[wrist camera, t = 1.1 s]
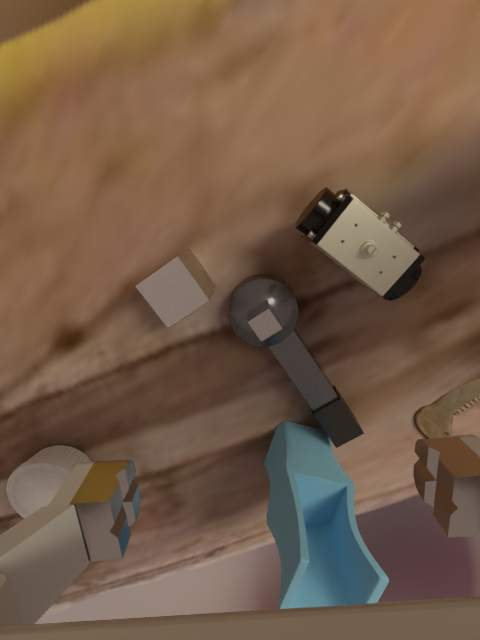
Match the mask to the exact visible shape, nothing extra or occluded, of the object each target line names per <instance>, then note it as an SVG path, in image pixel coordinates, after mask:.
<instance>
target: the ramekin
mask: <svg viewBox="0 0 480 640" xmlns="http://www.w3.org/2000/svg"><path fill="white" fill-rule="evenodd" d="M80 462H92V461H91V460H90V458H89V457H88V456H87V455H86V454H85V453H83V452H82V451H80V450H78V449H76V448H74V447H70V446H65V445H56V446H50V447H47V448H44V449H42V450H40V451H39V452H38V453H36V454H35V455H34V456H33V457H31V458H30V459H29V460H28V461H26V462H24V463H22V464H21V465H20V466H18V467H17V468H16V469H15V470H14V471H13V472H12V474H11V475H10V477H9V479H8V481H7V486H6V492H7V497H8V500H9V502H10V504H11V506H12V507H13V508H14V509H15V511H16V512H17V513H18V514H19V515H20V516H21V517H23V518H24V519H25V518H26V517H28V516H29V515H31V514H32V513H34V512H35V511H37V510H38V509H40V508H41V507H45V506H48V505H49V504H50V502H51V501H52V499H53V498H54V497H55V495H56V494H57V492H58V491H59V489H60V488H61V486H62V485H63V483H64V482H65V480H66V479H67V477H68V476H69V474H70V473H71V471H72V470H73V468H74V467H75V466H76V464H78V463H80Z"/></svg>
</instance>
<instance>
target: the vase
mask: <svg viewBox="0 0 480 640" xmlns="http://www.w3.org/2000/svg"><path fill="white" fill-rule="evenodd" d="M264 466H265V468H266V471H267V473H268V477H269V482H270V498H269V505H268V511H267V525H268V527H269V529H270V530H271V532H272V534H273V537H274V539H275V541H276V544H277V547H278V550H279V555H280V559H281V572H282V573H281V589H280V599H279V607H278V609H288V608H304V607H320V606H336V605H352V604H368V603H377V602H378V599H379V598H380V596H381V595H382V593H383V591H384V589H385V587H386V586H387V584H388V582H389V579H388V577H387V576H386V574H385V573H384V572H383V571H382V569H381V568H380V566H379V565H378V564H377V562H376V561H375V560H374V558H373V557H372V555H371V554H370V552H369V551H368V549H367V547H366V545H365V544H364V542H363V540H362V538H361V536H360V533H359V531H358V528H357V524H356V520H355V512H354V488H355V487H354V484H353V482H352V480H351V479H350V478H349V476H348V475H347V474H346V473H345V472H344V470H343V469H342V468H341V466H340V465H339V464H338V462H337V460H336V459H335V457H334V454H333V452H332V448H331V441H330V438H329V437H328V435H327V434H326V432H325V431H324V430H321V429H317V428H313V427H309V426H305V425H301V424H297V423H293V422H289V421H283V422H281V423H280V424H279V425H278V426H277V428H276V431H275V433H274V436H273V439H272V442H271V444H270V447H269V450H268V453H267V456H266V459H265V461H264Z"/></svg>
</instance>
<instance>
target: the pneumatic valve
mask: <svg viewBox="0 0 480 640" xmlns="http://www.w3.org/2000/svg"><path fill="white" fill-rule="evenodd" d="M381 215H382V216H380V215H379V216H378V215H377V214H376V213H375V212H373V211H372V210H371V209H370V208H369V207H367V206H366V205H365V204H364V203H363V202H361V201H360V200H359V199H358V198H357V197H356V196H354V195H353V194H352V193H351V192H350V191H348V190H347V189H345V190H340V191H338V192H337V193H336V194H334V193H333V192H332V191H330V190H329V189H328V188H324V189H323V190H321V191H320V192H319V193H318V194H317V195H316V197H315V198H314V199H313V200H312V201H311V202H310V204H309V205H308V206H307V208H306V209H305V210H304V212H303V213H302V214H301V216H300V217H299V219H298V221H297V222H296V225H295V227H296V228H297V229H298V230H299V231H300V232H301V234H302V235H301V236H302V237H303V238H304V239H305V240H307V241H308V242H309V243H311V244H312V245H313V246H314V247H316V248H317V249H318V250H319V251H321V252H322V253H323V254H324V255H326V256H327V257H328V258H330V259H331V260H332V261H333V262H335V263H336V264H337V265H338V266H340V267H341V268H342V269H343V270H345V271H346V272H347V273H348V274H350V275H351V276H352V277H354V278H355V279H356V280H357V281H359V282H360V283H361V284H362V285H364V286H365V287H367V288H368V289H370V290H371V291H373V292H374V293H376V294H378V295H379V296H381V297H382V298H384V299H385V300H395V299H398V298H400V297H401V296H403V295H404V294H406V293H407V292H408V291H409V290H410V289H411V288H412V287H413V286H414V285H415V284H416V282H417V281H418V279H419V277H420V275H421V272H422V268H421V266H420V264H421V263H422V262H423V261H424V259H425V258H424V257H423V256H422V255H420V254H419V253H418V251H419V250H418V249H417V248H416V247H415V246H414V245H412V244H411V243H410V242H409V241H408V240H407V239H405V238H404V237H403V236H402V235H401V234H399V233H398V232H397V231H398V229H400V228H401V227H402V225H401V224H400V223H399V222H398V221H394V222H393V223H392V225H393V226H392V225H389V224H388V223H386V219H389V218H390V214H389V213H387V212H386V211H382V212H381ZM385 218H386V219H385ZM397 228H398V229H397Z"/></svg>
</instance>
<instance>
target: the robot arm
mask: <svg viewBox="0 0 480 640" xmlns="http://www.w3.org/2000/svg"><path fill="white" fill-rule="evenodd" d="M415 453H416V454H417V456H418V457H419V460H418V461H417V462H416V463H415V464H414V473H413V476H414V480H415V485H416V488H417V490H418V492H419V494H420V496H421V497H422V499H423V500H424V501H425V502H426V503H427V504H429V505H431V506H432V507H434V512H433V516H434V517H435V518H436V520H437V521H438V523H439V525H440V526H441V527H442V529H443V530H444V532H445V533H446V535H447V536H448V537H467V536H480V439H479V438H478V437H477V436H475V435H472V434H470V435H460V436H453V437H444V438H430V439H418V440H417V442H416V444H415ZM135 472H136V470H135V466H134V462H133V461H132V460H111V461H97V462H96V461H93V462H80V463H78V464H76V466H75V467H74V468H73V470H72V471H71V473H70V474H69V476H68V477H67V479H66V480H65V482H64V483H63V485H62V486H61V488H60V489H59V491H58V492H57V494H56V495H55V497H54V498H53V499H52V501H51V502H50V504H49V505H48V506H45V507H41V508H40V509H38V510H37V511H35V512H34V513H32V514H31V515H29V516H28V517H26V518H25V519H23V520H22V521H20V522H19V523H17V524H16V525H14V526H13V527H12V528H10V529H9V530H7V531H6V532H4V533H3V534H1V535H0V640H480V597H467V598H451V599H434V600H418V601H402V602H387V603H386V602H385V603H368V604H352V605H336V606H320V607H304V608H288V609H272V610H256V611H240V612H224V613H209V614H193V615H176V616H160V617H144V618H129V619H113V620H97V621H81V622H64V623H48V624H35V623H36V622H37V621H38V619H39V618H40V617H41V616H42V615H43V614H44V613H45V612H46V611H47V610H48V609H49V607H50V606H51V605H52V604H53V603H54V602H55V601H56V600H57V599H58V598H59V597H60V595H61V594H62V593H63V592H64V591H65V590H66V589H67V588H68V587H69V586H70V585H71V583H72V582H73V581H74V580H75V579H76V578H77V577H78V576H79V575H80V574H81V573H82V572H83V570H84V569H85V568H86V567H87V566H88V565H89V564H90V563H89V562H92V561H102V560H112V559H122V558H123V555H124V553H125V550H126V547H127V544H128V541H129V538H130V536H131V535H130V530H129V526H131V525H132V524H133V523H134V522H135V521H136V518H137V515H138V512H139V505H140V490H139V485H138V484H137V483H136V482H135V481H134V480H133V477H134V475H135Z"/></svg>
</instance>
